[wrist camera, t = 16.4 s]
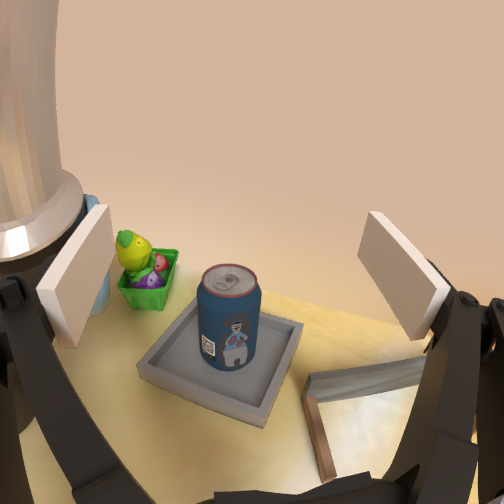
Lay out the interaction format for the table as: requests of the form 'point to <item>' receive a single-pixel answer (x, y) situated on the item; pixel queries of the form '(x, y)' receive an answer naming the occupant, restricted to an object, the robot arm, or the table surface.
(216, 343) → the soda can
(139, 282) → the fruit basket
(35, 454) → the table surface
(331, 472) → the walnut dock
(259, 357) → the grey tray
